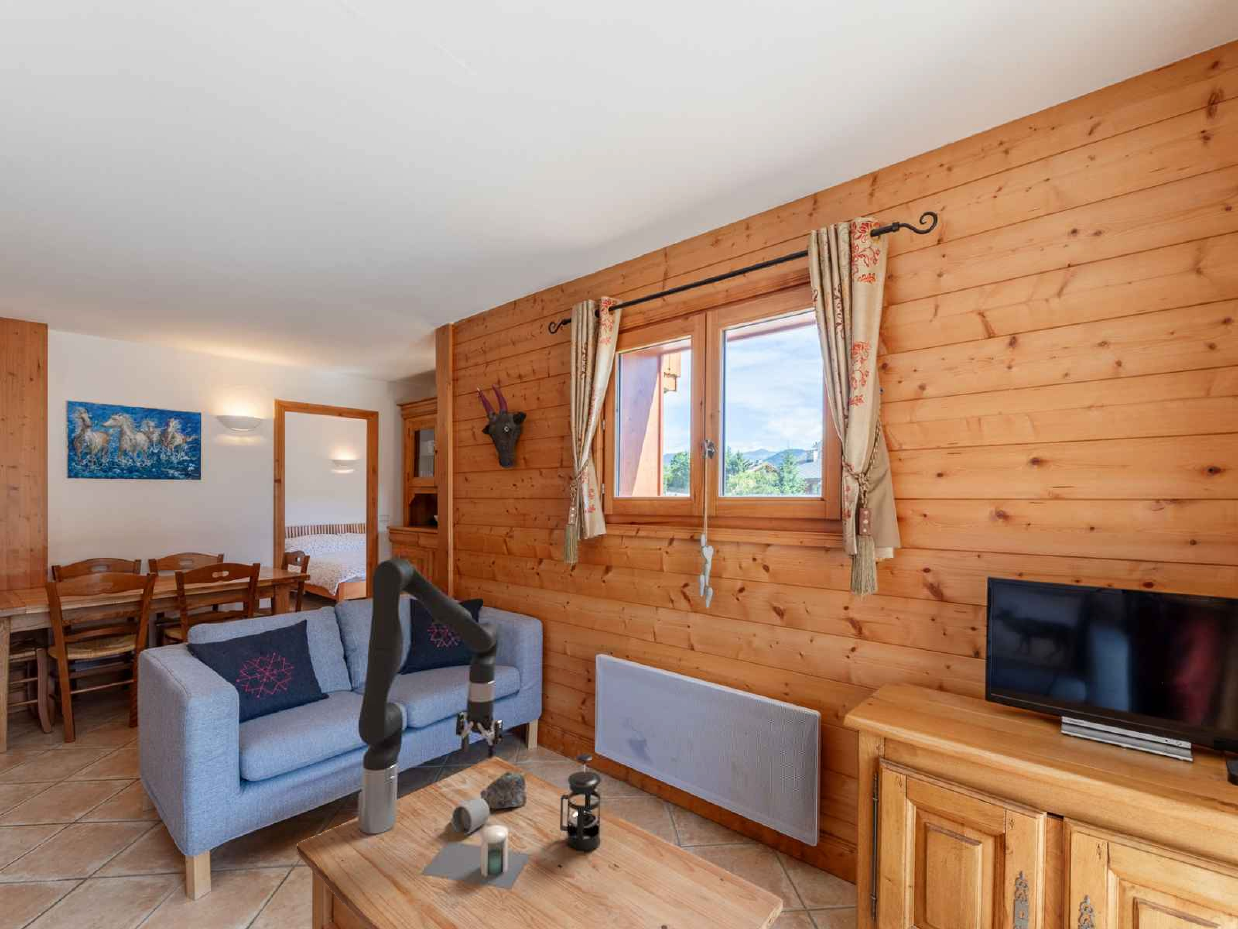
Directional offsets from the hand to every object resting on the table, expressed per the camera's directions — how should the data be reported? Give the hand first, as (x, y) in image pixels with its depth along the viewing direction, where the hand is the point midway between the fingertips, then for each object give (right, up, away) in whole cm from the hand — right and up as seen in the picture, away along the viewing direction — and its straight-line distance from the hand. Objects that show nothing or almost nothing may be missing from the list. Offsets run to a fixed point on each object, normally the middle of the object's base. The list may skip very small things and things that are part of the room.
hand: (478, 754), depth 168 cm
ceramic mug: (-3, -21, +1) cm, 21 cm away
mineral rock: (+5, -22, +13) cm, 26 cm away
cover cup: (+8, -20, -18) cm, 28 cm away
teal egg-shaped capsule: (+8, -20, -18) cm, 28 cm away
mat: (+4, -20, -16) cm, 26 cm away
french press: (+30, -22, -6) cm, 37 cm away
